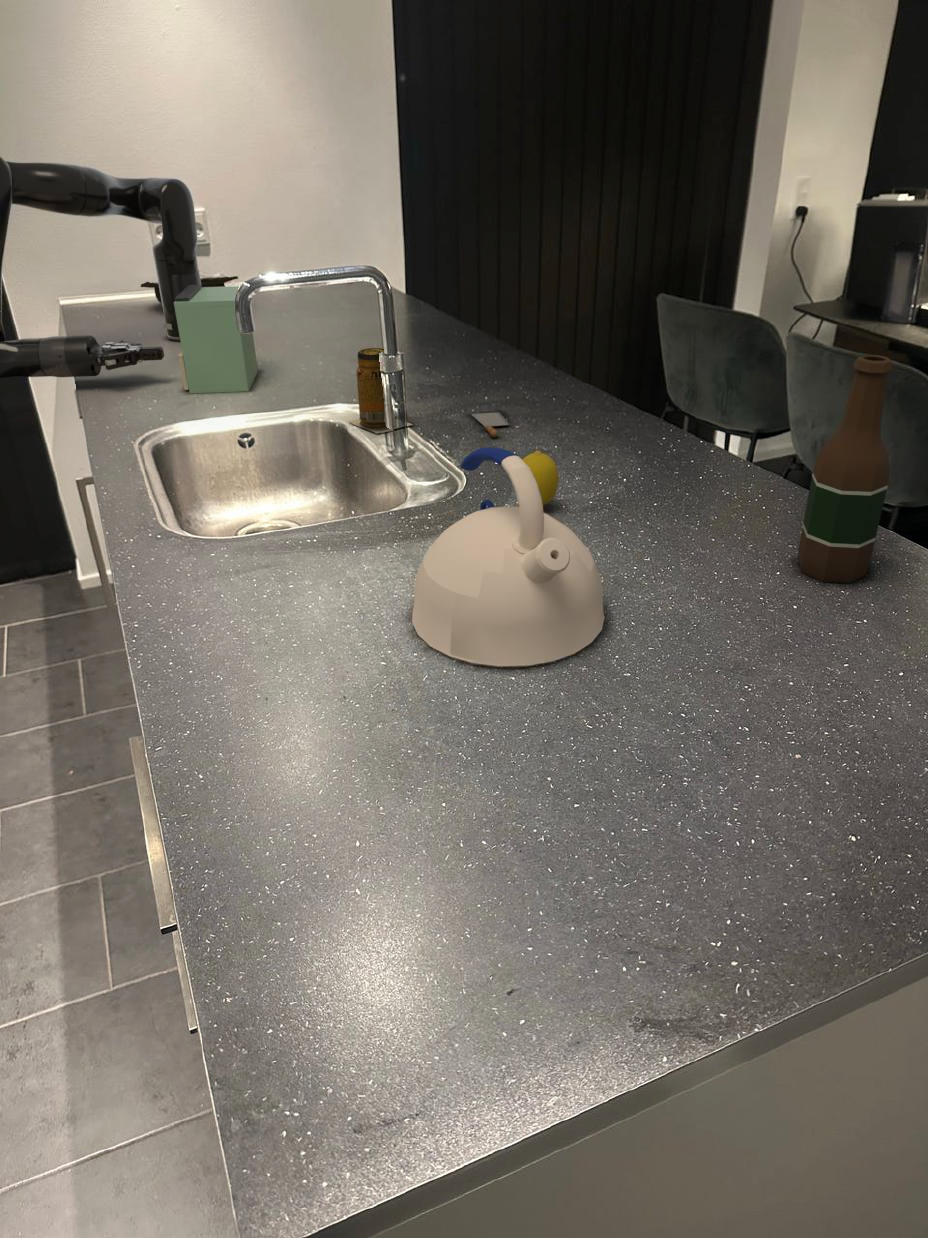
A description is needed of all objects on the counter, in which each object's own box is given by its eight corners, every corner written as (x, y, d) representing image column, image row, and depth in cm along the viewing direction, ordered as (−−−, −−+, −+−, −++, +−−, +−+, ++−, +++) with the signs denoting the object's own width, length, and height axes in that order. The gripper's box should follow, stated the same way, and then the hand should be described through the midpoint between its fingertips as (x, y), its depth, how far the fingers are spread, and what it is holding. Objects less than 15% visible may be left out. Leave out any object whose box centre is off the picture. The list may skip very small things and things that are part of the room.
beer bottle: (859, 591, 99) (909, 371, 87) (787, 574, 102) (825, 361, 90) (873, 563, 104) (922, 353, 92) (804, 548, 108) (843, 344, 96)
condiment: (383, 414, 156) (379, 343, 150) (413, 425, 151) (409, 352, 144) (348, 423, 152) (342, 351, 146) (376, 435, 147) (371, 360, 141)
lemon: (529, 520, 117) (530, 461, 113) (508, 505, 121) (508, 448, 117) (565, 511, 119) (567, 453, 115) (543, 497, 123) (544, 441, 119)
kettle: (458, 691, 84) (454, 512, 75) (385, 594, 100) (373, 437, 91) (644, 642, 90) (660, 472, 81) (546, 558, 107) (551, 409, 98)
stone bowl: (192, 321, 222) (183, 281, 218) (127, 318, 235) (117, 281, 231) (262, 301, 240) (255, 264, 235) (198, 300, 253) (190, 265, 248)
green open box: (202, 373, 181) (188, 284, 173) (258, 371, 182) (246, 282, 173) (189, 393, 169) (173, 298, 161) (248, 391, 170) (235, 296, 161)
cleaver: (498, 415, 156) (470, 417, 155) (498, 408, 156) (470, 410, 155) (520, 436, 145) (490, 439, 144) (520, 428, 144) (490, 431, 143)
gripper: (54, 344, 163) (151, 341, 164) (75, 328, 175) (166, 325, 176) (64, 385, 167) (159, 382, 168) (84, 367, 179) (173, 363, 180)
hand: (162, 352), depth 172 cm, fingers closed
